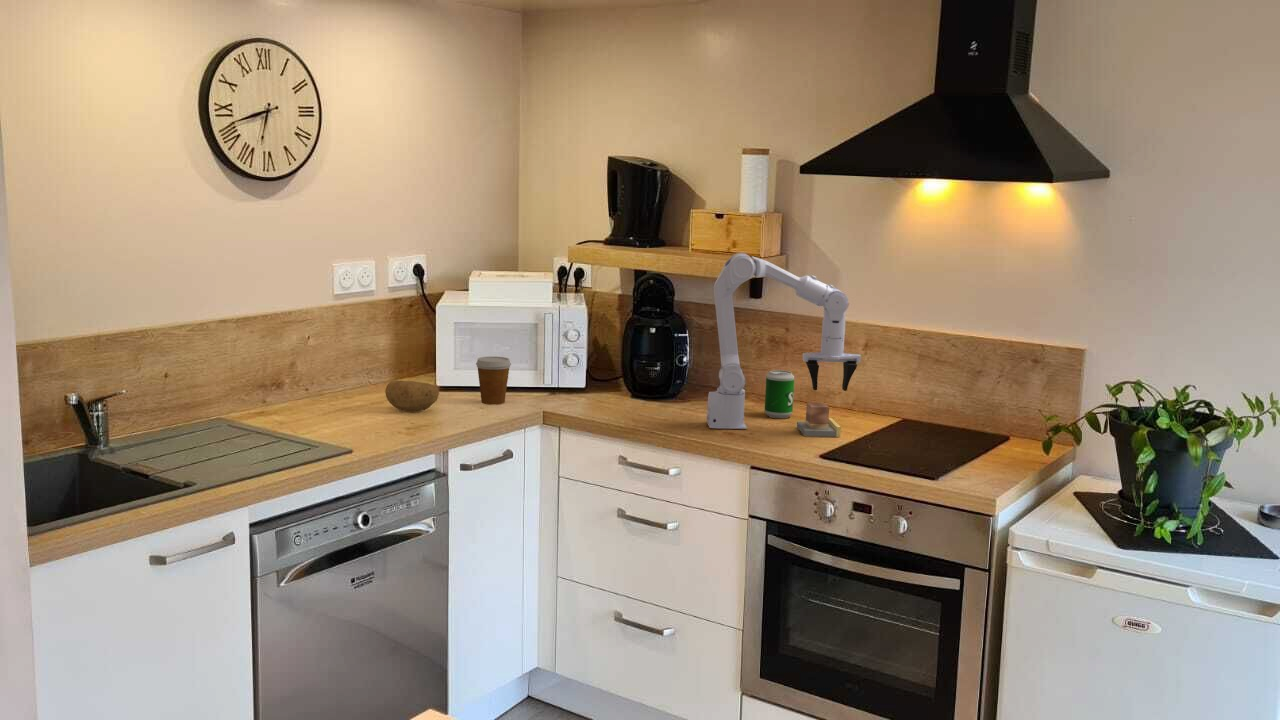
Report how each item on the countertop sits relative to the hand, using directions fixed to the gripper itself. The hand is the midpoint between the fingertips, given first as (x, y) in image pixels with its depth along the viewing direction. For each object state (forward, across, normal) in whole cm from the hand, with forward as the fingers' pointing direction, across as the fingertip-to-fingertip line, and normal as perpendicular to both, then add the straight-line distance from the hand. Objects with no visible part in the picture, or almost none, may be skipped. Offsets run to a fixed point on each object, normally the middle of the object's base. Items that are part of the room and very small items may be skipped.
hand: (829, 389), depth 286 cm
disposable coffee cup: (+11, -87, +25) cm, 91 cm away
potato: (+11, -107, +12) cm, 108 cm away
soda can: (+11, -10, +15) cm, 21 cm away
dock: (+10, -4, -3) cm, 11 cm away
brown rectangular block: (+9, -4, -3) cm, 10 cm away
